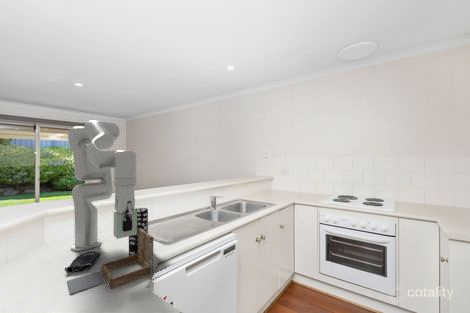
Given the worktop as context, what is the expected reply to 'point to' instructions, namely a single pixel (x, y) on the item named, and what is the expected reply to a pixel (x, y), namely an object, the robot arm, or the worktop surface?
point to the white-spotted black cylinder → (141, 223)
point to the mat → (85, 282)
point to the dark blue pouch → (83, 261)
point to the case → (142, 258)
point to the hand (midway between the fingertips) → (125, 228)
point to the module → (119, 225)
